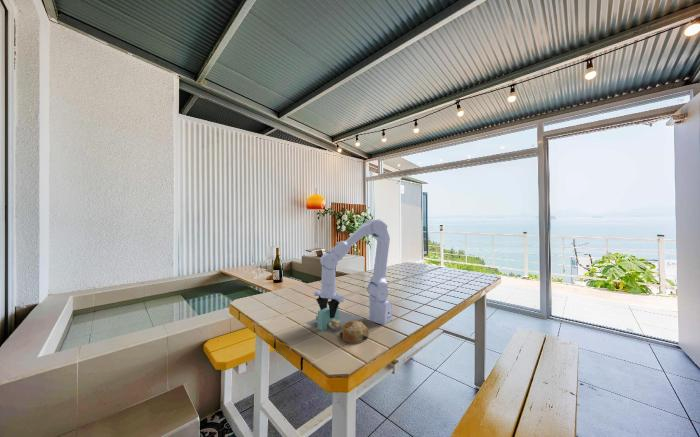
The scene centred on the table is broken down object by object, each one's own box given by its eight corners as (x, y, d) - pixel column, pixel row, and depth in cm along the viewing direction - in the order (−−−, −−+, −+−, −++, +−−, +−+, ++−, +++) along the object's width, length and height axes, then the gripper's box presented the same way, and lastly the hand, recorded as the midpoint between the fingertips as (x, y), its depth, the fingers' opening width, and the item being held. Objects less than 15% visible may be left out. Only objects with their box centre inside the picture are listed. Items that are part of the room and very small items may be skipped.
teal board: (338, 322, 103) (338, 305, 103) (322, 330, 95) (322, 312, 95) (334, 320, 105) (334, 304, 105) (317, 329, 97) (317, 311, 97)
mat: (364, 318, 108) (364, 317, 108) (334, 335, 92) (334, 334, 92) (336, 310, 118) (336, 309, 118) (305, 324, 102) (305, 323, 102)
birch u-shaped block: (341, 328, 97) (341, 321, 97) (337, 330, 95) (337, 322, 96) (319, 321, 104) (319, 314, 104) (316, 322, 103) (316, 315, 103)
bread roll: (354, 356, 84) (363, 338, 83) (332, 337, 89) (340, 319, 88) (367, 344, 93) (376, 327, 91) (347, 327, 98) (354, 310, 96)
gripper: (309, 282, 101) (308, 315, 101) (335, 288, 93) (335, 324, 92) (320, 279, 107) (320, 310, 107) (346, 284, 98) (346, 318, 98)
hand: (328, 316), depth 100 cm, fingers open, 4 cm apart
